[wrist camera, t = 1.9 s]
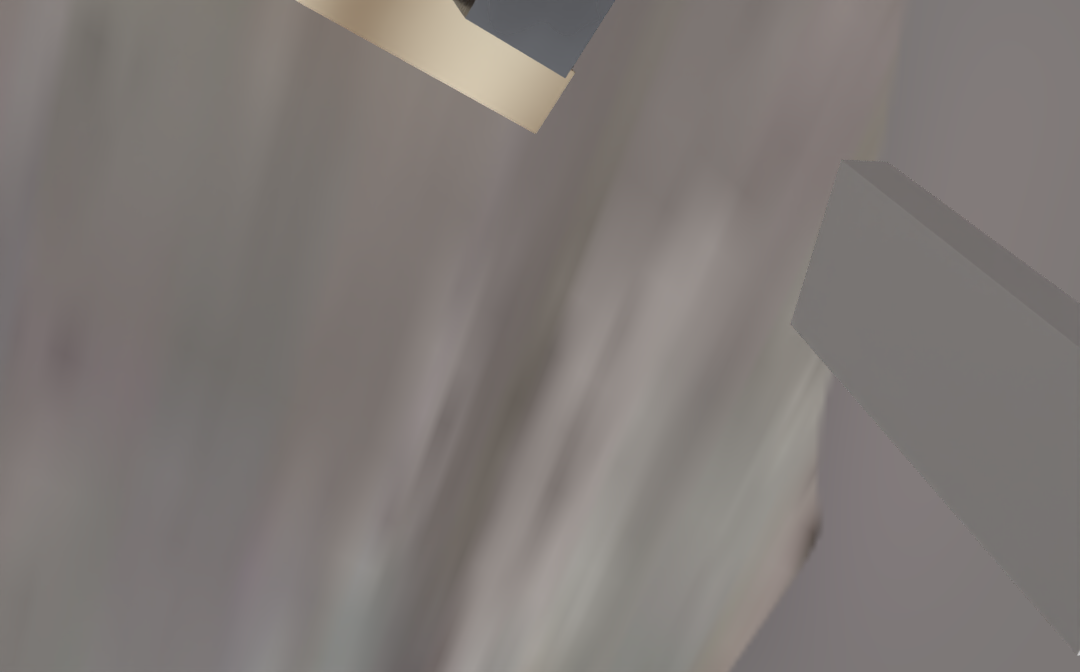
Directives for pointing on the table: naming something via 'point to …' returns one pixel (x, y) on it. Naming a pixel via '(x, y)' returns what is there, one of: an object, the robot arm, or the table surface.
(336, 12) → the beige flat board
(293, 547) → the table surface
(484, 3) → the bookend
